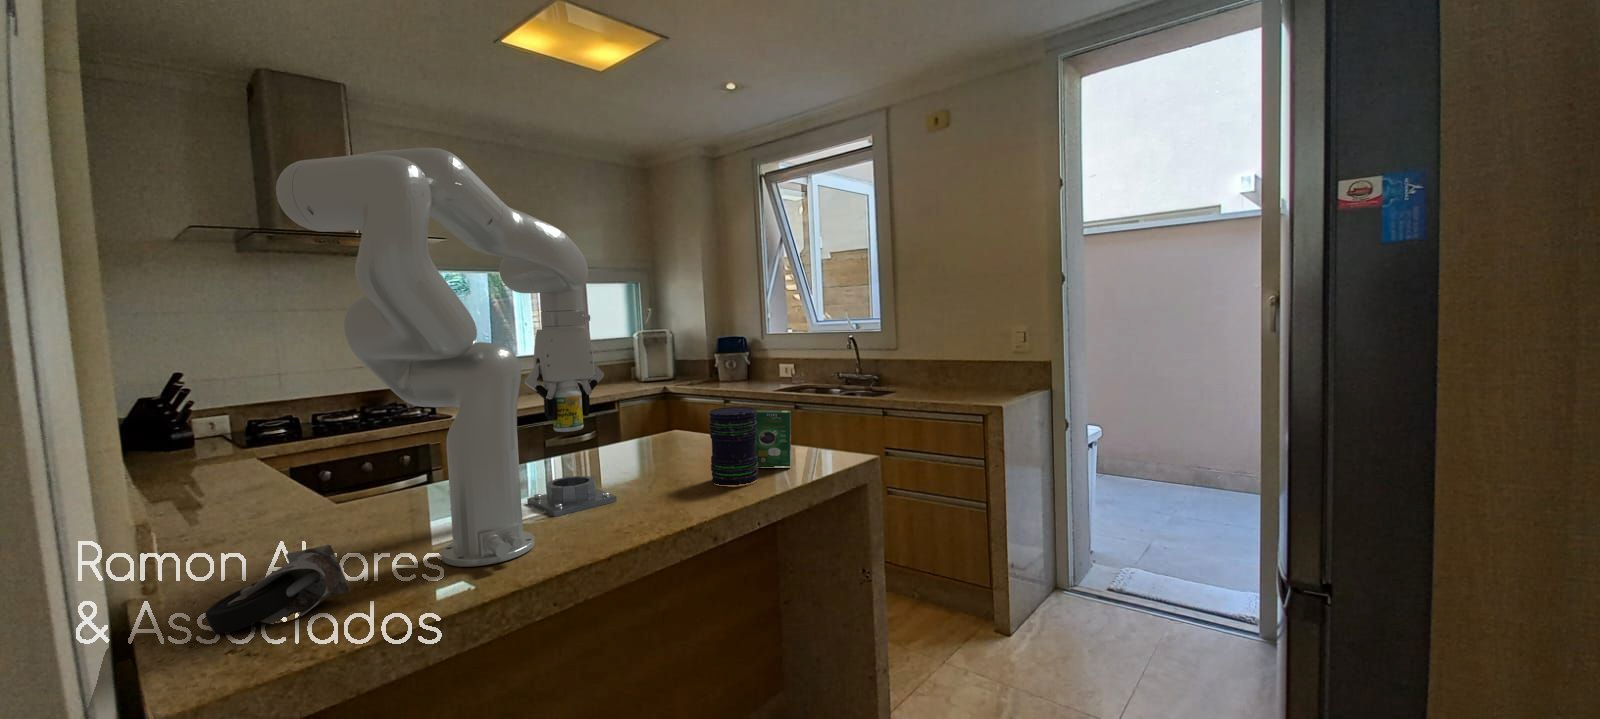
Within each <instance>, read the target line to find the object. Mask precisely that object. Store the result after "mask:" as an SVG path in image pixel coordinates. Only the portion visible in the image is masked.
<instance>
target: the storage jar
mask: <svg viewBox="0 0 1600 719" xmlns="http://www.w3.org/2000/svg"><path fill="white" fill-rule="evenodd" d="M756 411H757V409H756V408H754V407H746V406H744V407H743V406H732V407H720V408H714V409H711V410H709V438H710V439H711V457H710V462H711V464H710V470H711V471H710V472H711V476H712V478H711V483H712V482H713V483H715V484H719V485H739V484H746V483H751V482H753V481H755V480H757V479H758V480H759V476H758V473H759V470H758V462H757V461H758V457H757V454H756V436H757V429H756V428H757V422H756Z"/></svg>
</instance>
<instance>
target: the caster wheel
mask: <svg viewBox="0 0 1600 719" xmlns="http://www.w3.org/2000/svg"><path fill="white" fill-rule="evenodd" d="M285 556H286V558H287V560H288V563H286V564H284V565H283V566H281V567H280V568H278V569H276V570H275V571H274V572H271V573H270V574H268V575H266V576H264V577H263V578H261V579H260V580H258V581H257V582H254V583H251V584H250V585H247V586H245V587H242V588H241V589H239V590H236V591H235V592H232V593H230V594H229V595H227V596H225V597H222V599H220V600H218V601H217V602H216V603H214V604H213V605H211V606H210V607H209V608H207V610H206V611H205V614H204V616H205V618H206V620H207V622H208V624H209V626H210V628H211V630H212V631H213V633H214V634H216V635H225V634H228V633H233V632H236V631H239V630H243V629H245V628H247V627H249V626H252V625H255V624H257V623H258V622H260V623H263V624H267V625H271V624H270V623H275V622H276V621H277V622H278V621H280V619H282V618H283V617H288V616H290V615H291V614H293V613H296V612H300V613H301V614H300V615H299V616H298V617H299V618H301V617H302V616H304V615H305V614H307V613H308V612H310V611H311V610H312V609H314V608H315V607H316V606H318V605H319V604H321V603H322V602H323V601H325V600H326V599H328V598H329V597H330V596H335V595H340V594H344V593H345V594H346V593H350V592H351V588H350V586H349V583H348V580H347V578H346V576H345V574H344V572H343V569H342V568H341V567H342V566H341V565H340V562H339V560H338V558H337V556H336V554H335V551H334V550H333V547H332V545H331V544H325V545H320V546H316V547H311V548H306V549H302V550H297V551H293V552H287V553H286V554H285ZM300 616H301V617H300Z"/></svg>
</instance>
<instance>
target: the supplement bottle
mask: <svg viewBox="0 0 1600 719" xmlns="http://www.w3.org/2000/svg"><path fill="white" fill-rule="evenodd" d="M577 387H578V386H577V381H574V380H569V381H565V382H560V383H557V384H556V388H555V392H554V399H556V400H557V418H558V419H557V420H555V421H552V425H553V427H552V428H553V430H554V432H559V433H560V432H561V433H562V432H563V433H564V432H565V433H567V432H568V433H570V432H575V431H580V430H582V429H583V428H584V416H583V409H582V393H581V391H580V390H579V389H578V388H577Z"/></svg>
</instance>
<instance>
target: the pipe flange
mask: <svg viewBox="0 0 1600 719" xmlns="http://www.w3.org/2000/svg"><path fill="white" fill-rule="evenodd" d="M545 488H546V493H544V494H540V493H538V494H536V493H535V494H534V495H533V496H532V497H528V498H526V499H527V504H528V505H530V506H532V507H533V508H536V509H538V510H539V511H542V512H544V513H547V514H549V515H550V516H552V517H555V518H556V517H560V516H563V515H568V514H571V513H575V512H579V511H583V510H588V509H592V508H595V507H599V506H603V505H608V504H611V503H616V502H618V501H617V495H614V494H611V493H610V492H609V491H608V492H606V491H603V490H601V489H599V488H596V478H595V477H593V476H589V475H588V476H587V475H574V476H572V475H571V476H565V477H560V478H559V477H558V478H556V479H553V480H550V481H548V482H547V483H546V486H545Z"/></svg>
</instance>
